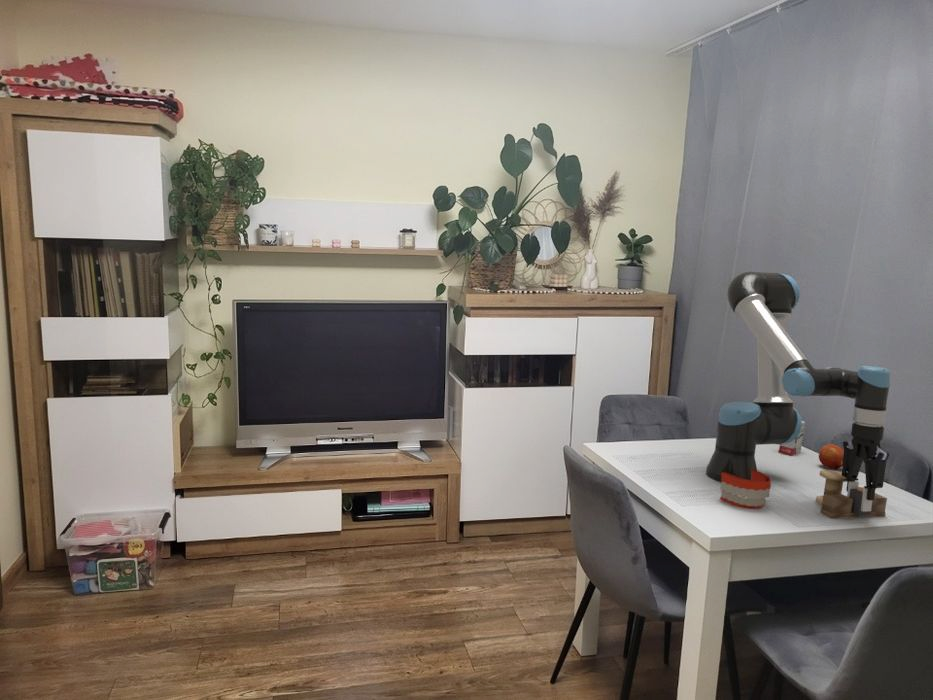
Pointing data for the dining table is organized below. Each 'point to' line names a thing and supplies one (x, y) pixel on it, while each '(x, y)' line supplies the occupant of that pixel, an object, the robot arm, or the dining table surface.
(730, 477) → the toy
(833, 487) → the wooden spool
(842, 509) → the brown wooden u-shaped block
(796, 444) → the ink box
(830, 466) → the apple
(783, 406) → the robot arm
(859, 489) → the dark grey rectangular block
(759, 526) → the dining table surface
